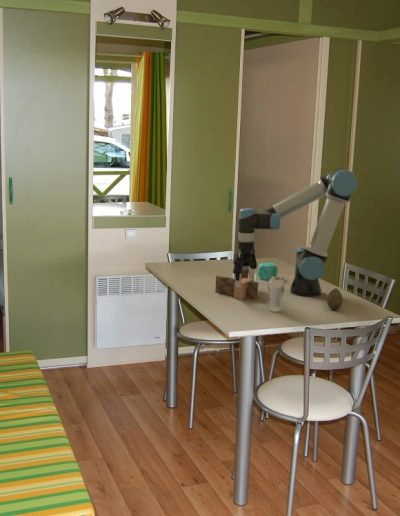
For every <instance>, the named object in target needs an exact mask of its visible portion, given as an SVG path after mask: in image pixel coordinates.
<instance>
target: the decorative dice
mask: <svg viewBox="0 0 400 516" xmlns="http://www.w3.org/2000/svg"><path fill="white" fill-rule="evenodd" d="M278 271H279V269H278V267H277V265H276V264H275V263H273V262H261V263H260V264H259V266H258V269H257V276H258V277H259V279H260V280H264V281H269V279H270V277H278Z"/></svg>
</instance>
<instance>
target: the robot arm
mask: <svg viewBox="0 0 400 516" xmlns="http://www.w3.org/2000/svg"><path fill="white" fill-rule="evenodd" d="M357 187H358V179H357V177H356V175H355V173H353V171H351V170H349V169H346V168H343V167H340V168H336V169H335V168H334V169H333V170H332V171H330V172H328V173H326V174H325V175H323V176H321V177H319V179H318V181H317V182H315V183H312V184H311V185H309V186H307V187H305V188H303V189H302V190H300V191H298V192H296V193H294V194H292V195H290V196H288V197H286V198H284V199H283V200H280V201H279V202H277V203H275V204H273V205H271V206H270V207H268V208H263V209H262V210H260V211H259V213H258V212H256V210H255V208H250V207H247V208H240V210H239V215H238V234H237V235H238V243H237V244H238V245H237V248H238V249H239V250H240V252H236V258H235V259H236V262H235V266H234V265H233V270H232V273H233V274H234V273H235V274H236V278H235V287H241V274H240V273H241V271H242V268H243V265H244V263H245V262H246V261H247V262H248V264H249V274H248V279H253V281H254V282H255V270H256V269H257V267H258V262H257V259H256V254H255V252H256V251H255V230H272V231H273V230H279V229H280V227H281V220H282V218H285V217H287V216H288V215H291V214H292V213H294V212H296V211H298V210H300V209H302V208H305V207H306V206H308V205H310V204H312V203H313V202H315V201H318V200H319V199H321V198H323V197H326V200H325V203H324V206H323V207H322V211H321V214H320V216H319V219H318V220H317V223H316V227H315V230H314V232H313V235H312V237H311V240H310V243H309V245H308V246H305V247H303V246H302V247H301V246H300V247H297V249H296V252H295V254H296V257H295V268H294V269H295V271H294V278H293V281H292V283H291V285H290V293H291V294H293V295H296V296H302V297H303V296H304V297H316V296H320V295H321V294H322V288H321V285H320V284H321V283H320V280H319V279H320V278H321V277H322V276H323V275H324V274H325V270H326V264H327V261H328V257H329V255H328V252H327V251H328V249H329V246H330V243H331V242H332V241H331V240H332V239H333V235H334V233H335V229H336V228H337V225H338V222H339V220H340V217H341V214H342V212H343V209H344V207H345V205H346V204H348V203H350V200H351V198H352V195H353V194H355V192H356V190H357V189H358V188H357Z"/></svg>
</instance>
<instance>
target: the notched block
mask: <svg viewBox="0 0 400 516" xmlns="http://www.w3.org/2000/svg"><path fill="white" fill-rule="evenodd" d="M250 281H253V279H249V277H248V278H243V279H241V287H235V284H234V295H233V298H234V299H239V300H245V299H247V298H246V290H247V289H249V282H250Z"/></svg>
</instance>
